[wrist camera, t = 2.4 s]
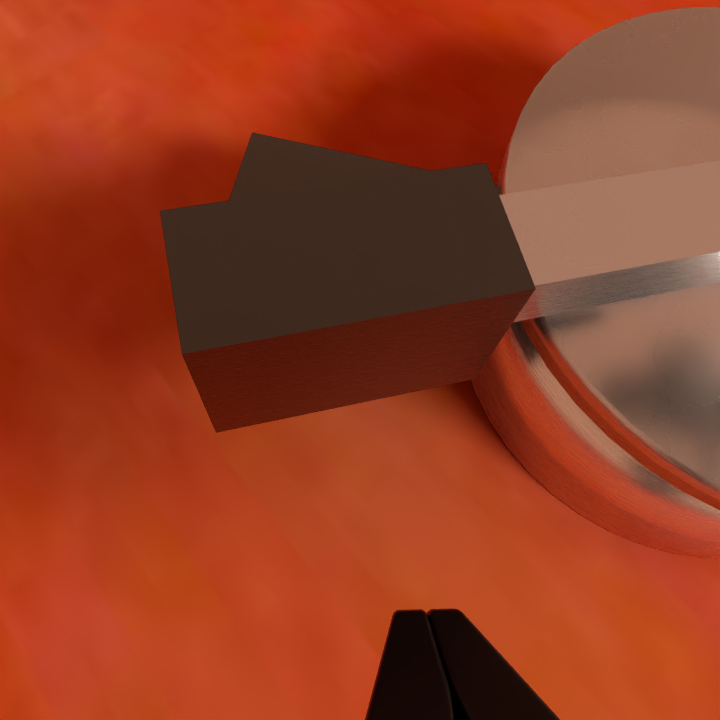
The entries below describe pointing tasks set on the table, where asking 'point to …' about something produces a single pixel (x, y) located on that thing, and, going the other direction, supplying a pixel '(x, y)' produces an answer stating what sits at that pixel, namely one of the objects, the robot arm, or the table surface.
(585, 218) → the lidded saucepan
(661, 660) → the table surface
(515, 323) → the pressure pot
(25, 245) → the table surface
